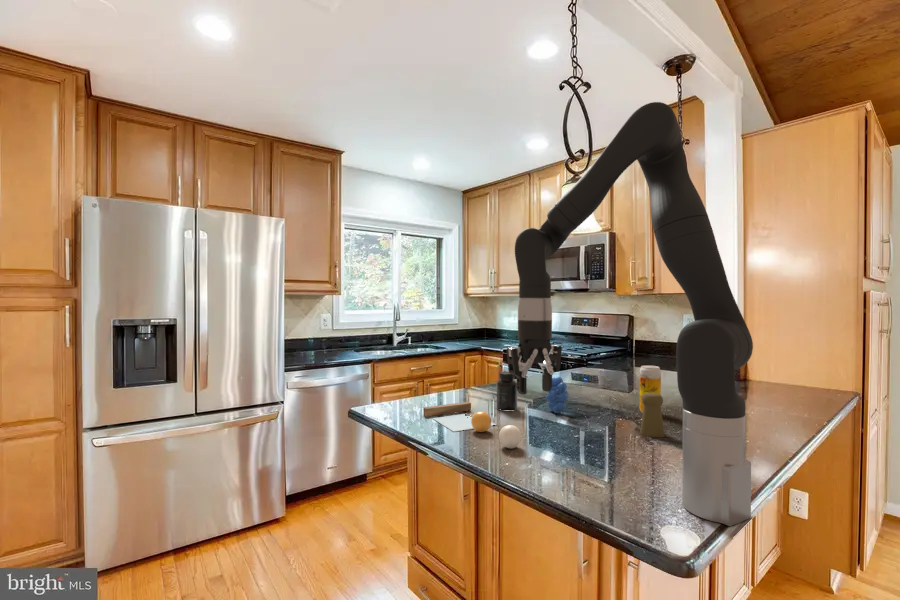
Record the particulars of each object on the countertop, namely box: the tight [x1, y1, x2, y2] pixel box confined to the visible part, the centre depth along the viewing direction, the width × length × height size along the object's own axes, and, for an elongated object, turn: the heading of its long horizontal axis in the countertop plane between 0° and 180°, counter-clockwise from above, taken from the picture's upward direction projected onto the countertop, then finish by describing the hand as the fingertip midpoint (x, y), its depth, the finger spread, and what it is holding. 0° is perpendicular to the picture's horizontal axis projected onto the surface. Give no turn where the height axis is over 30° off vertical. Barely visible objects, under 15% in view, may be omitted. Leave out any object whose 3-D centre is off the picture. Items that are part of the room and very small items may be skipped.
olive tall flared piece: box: [639, 393, 665, 438], centre depth 115 cm, size 6×6×11 cm
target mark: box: [432, 413, 497, 433], centre depth 125 cm, size 14×14×1 cm
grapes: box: [545, 376, 569, 414], centre depth 135 cm, size 12×7×12 cm, turn 14°
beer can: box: [639, 364, 662, 415], centre depth 135 cm, size 6×6×15 cm
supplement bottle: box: [496, 371, 518, 411], centre depth 140 cm, size 7×7×12 cm
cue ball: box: [498, 424, 523, 449], centre depth 104 cm, size 6×6×6 cm
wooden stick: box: [422, 401, 472, 418], centre depth 135 cm, size 2×16×2 cm, turn 116°
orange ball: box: [471, 410, 492, 433], centre depth 116 cm, size 6×6×6 cm
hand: (534, 392), depth 95 cm, fingers open, 6 cm apart
